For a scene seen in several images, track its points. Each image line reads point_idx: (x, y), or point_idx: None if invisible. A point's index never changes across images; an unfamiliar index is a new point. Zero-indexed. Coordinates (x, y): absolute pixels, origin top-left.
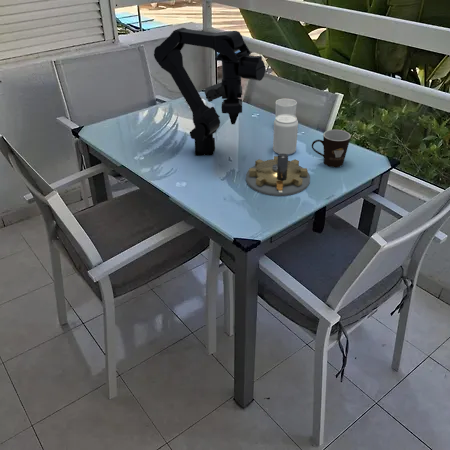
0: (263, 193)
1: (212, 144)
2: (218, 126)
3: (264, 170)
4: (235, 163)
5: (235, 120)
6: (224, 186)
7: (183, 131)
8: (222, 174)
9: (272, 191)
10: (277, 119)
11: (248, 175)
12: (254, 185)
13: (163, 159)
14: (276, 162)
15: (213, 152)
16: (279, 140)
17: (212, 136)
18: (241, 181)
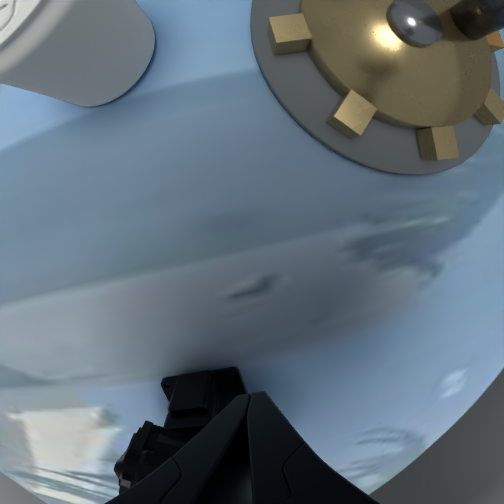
0: None
1: (213, 399)
2: (169, 444)
3: (438, 84)
4: (290, 252)
5: (280, 415)
6: (474, 249)
7: (97, 463)
8: (398, 282)
9: (494, 67)
10: (3, 35)
11: (427, 162)
12: (484, 131)
13: None
14: (346, 26)
15: (219, 372)
16: (123, 34)
17: (199, 426)
18: (440, 189)
